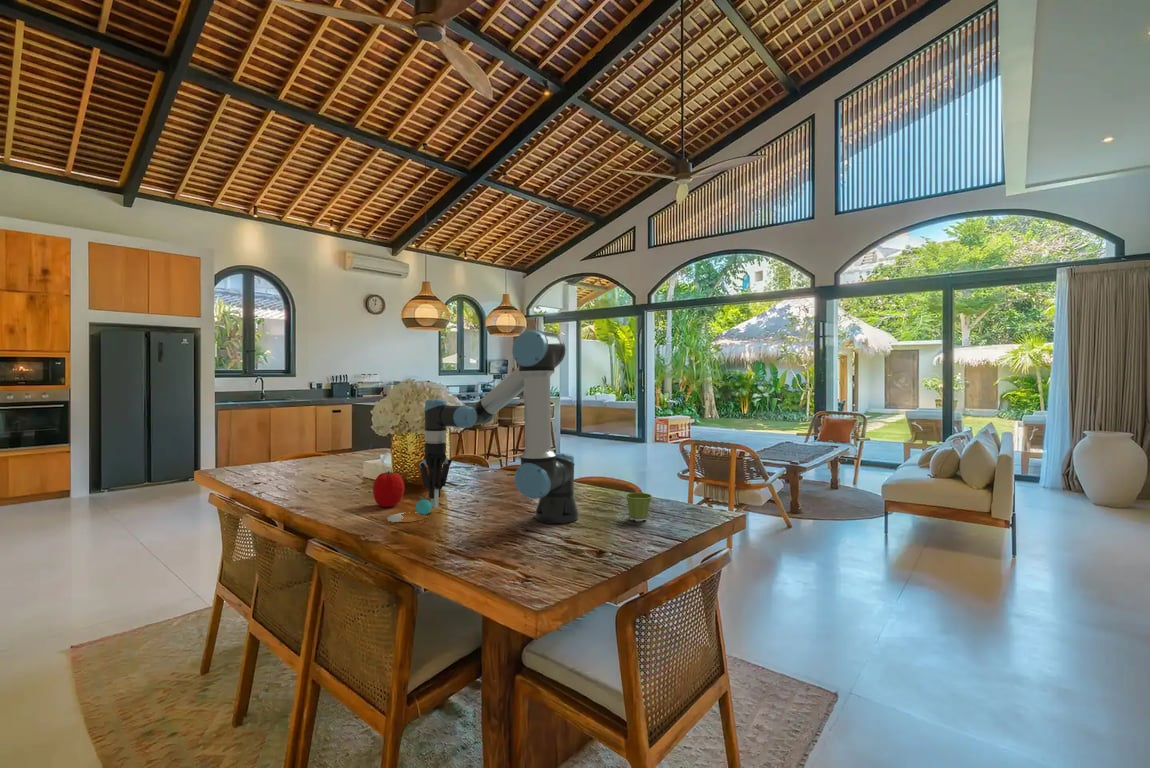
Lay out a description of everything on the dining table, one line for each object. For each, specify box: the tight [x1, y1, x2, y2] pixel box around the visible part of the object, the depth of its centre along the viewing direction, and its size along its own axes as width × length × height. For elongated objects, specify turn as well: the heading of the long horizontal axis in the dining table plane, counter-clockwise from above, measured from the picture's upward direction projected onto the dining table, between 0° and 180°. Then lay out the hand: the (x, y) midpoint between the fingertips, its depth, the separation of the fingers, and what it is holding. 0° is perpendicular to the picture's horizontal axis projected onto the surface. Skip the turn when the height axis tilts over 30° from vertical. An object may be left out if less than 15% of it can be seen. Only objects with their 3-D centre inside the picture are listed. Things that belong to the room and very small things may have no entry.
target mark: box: [386, 511, 411, 523], centre depth 184 cm, size 13×13×1 cm
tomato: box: [372, 470, 406, 508], centre depth 200 cm, size 12×12×13 cm
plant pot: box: [624, 492, 653, 519], centre depth 186 cm, size 9×9×9 cm
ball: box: [415, 498, 433, 516], centre depth 189 cm, size 6×6×6 cm
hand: (434, 506), depth 192 cm, fingers closed
